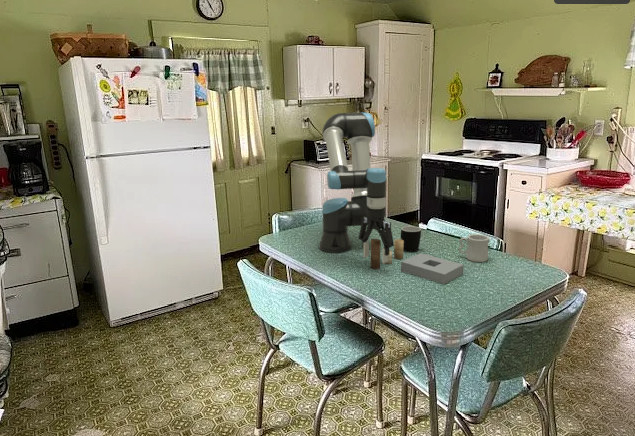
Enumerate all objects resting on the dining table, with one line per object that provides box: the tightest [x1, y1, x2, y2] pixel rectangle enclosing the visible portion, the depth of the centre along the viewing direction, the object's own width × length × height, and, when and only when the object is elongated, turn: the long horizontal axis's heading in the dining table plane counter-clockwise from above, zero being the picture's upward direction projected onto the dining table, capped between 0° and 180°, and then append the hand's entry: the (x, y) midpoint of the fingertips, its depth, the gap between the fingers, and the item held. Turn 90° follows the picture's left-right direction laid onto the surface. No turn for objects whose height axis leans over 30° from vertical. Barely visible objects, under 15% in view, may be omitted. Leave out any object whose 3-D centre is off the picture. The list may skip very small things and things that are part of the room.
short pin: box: [383, 250, 393, 265], centre depth 196 cm, size 4×4×5 cm
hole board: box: [400, 252, 465, 285], centre depth 184 cm, size 20×14×4 cm
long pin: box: [370, 238, 382, 270], centre depth 190 cm, size 4×4×12 cm
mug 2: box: [458, 233, 490, 263], centre depth 198 cm, size 12×9×10 cm
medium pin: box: [393, 238, 404, 260], centre depth 201 cm, size 4×4×8 cm
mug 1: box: [400, 225, 422, 253], centre depth 212 cm, size 12×9×10 cm
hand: (375, 259), depth 190 cm, fingers open, 9 cm apart
